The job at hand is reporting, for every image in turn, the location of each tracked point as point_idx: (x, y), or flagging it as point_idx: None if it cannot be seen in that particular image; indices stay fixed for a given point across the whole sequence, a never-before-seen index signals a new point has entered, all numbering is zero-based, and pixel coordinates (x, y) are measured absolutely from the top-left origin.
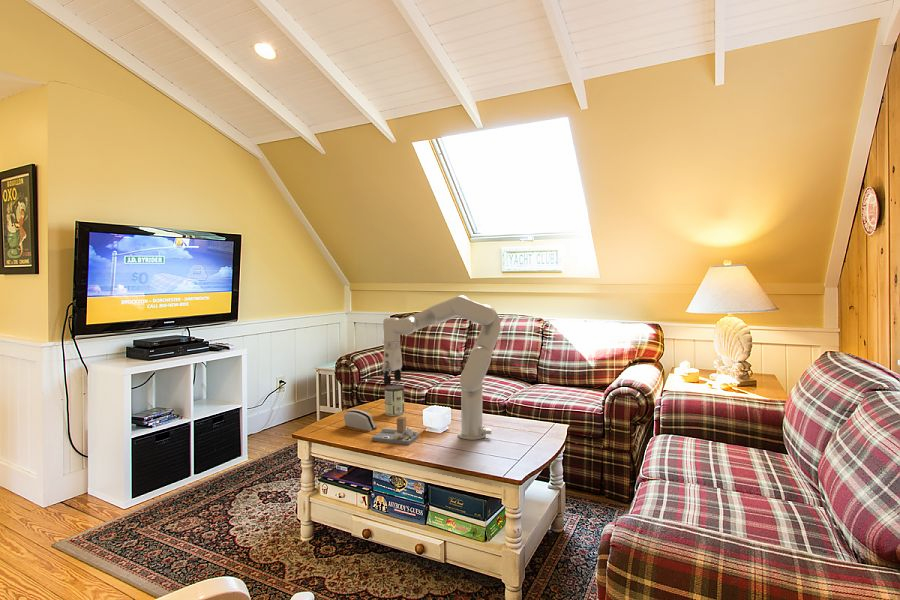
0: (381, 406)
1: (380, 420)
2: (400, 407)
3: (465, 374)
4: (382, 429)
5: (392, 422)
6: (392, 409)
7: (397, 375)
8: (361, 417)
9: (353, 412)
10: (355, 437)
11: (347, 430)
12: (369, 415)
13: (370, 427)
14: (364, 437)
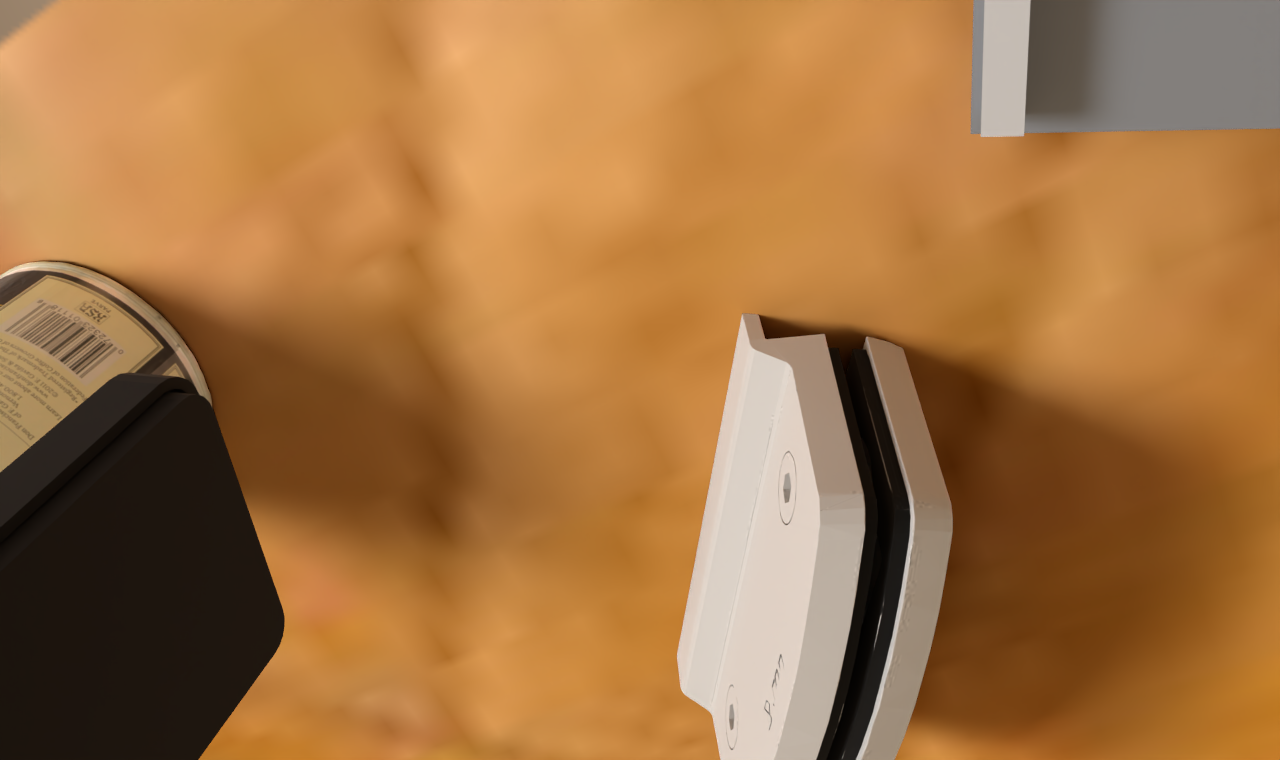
0: None
1: (425, 416)
2: (28, 330)
3: None
4: (1024, 122)
5: (410, 234)
6: None
7: (93, 674)
8: (936, 592)
9: (870, 757)
10: (1268, 419)
11: (976, 619)
12: (845, 513)
13: (892, 377)
14: (1238, 298)
